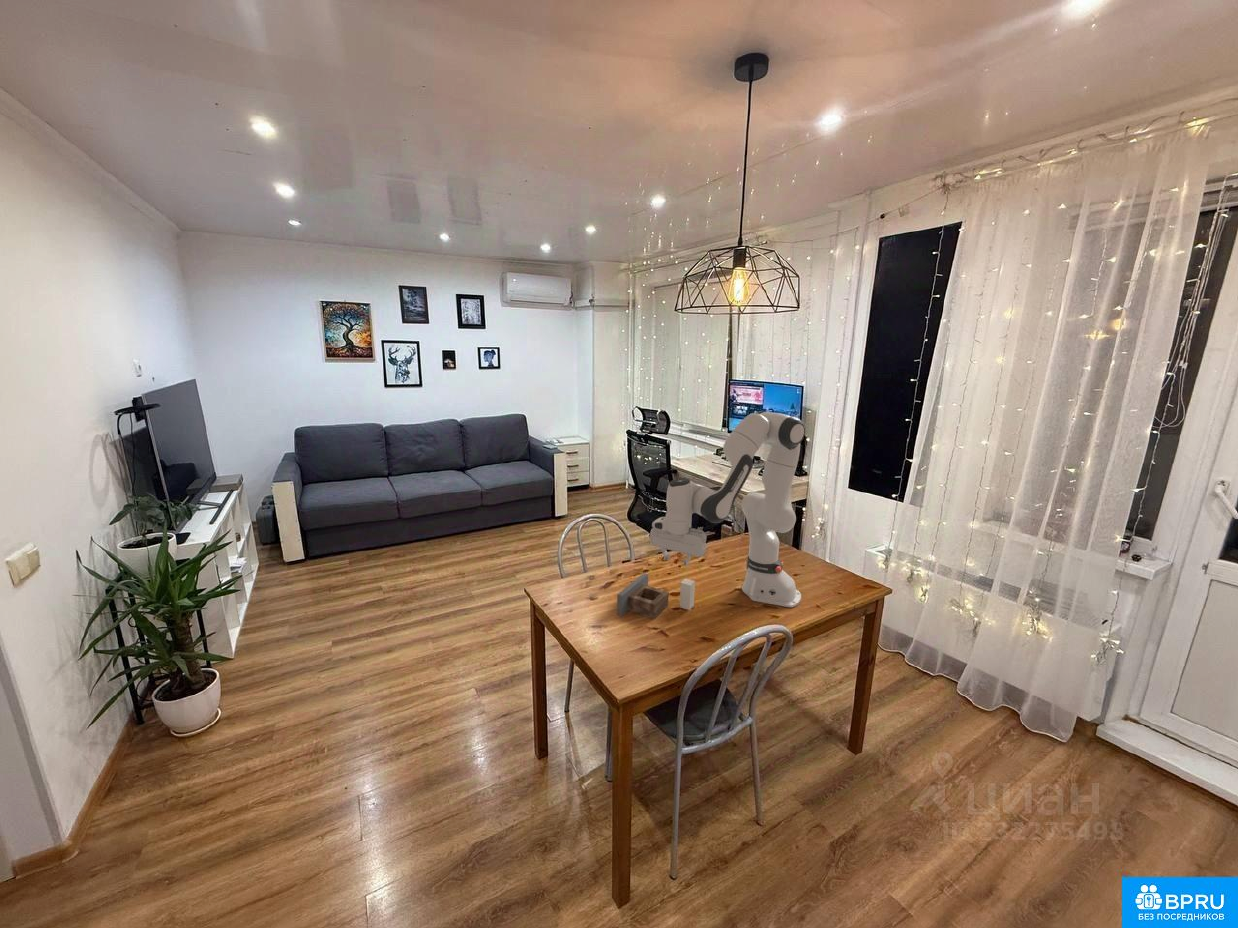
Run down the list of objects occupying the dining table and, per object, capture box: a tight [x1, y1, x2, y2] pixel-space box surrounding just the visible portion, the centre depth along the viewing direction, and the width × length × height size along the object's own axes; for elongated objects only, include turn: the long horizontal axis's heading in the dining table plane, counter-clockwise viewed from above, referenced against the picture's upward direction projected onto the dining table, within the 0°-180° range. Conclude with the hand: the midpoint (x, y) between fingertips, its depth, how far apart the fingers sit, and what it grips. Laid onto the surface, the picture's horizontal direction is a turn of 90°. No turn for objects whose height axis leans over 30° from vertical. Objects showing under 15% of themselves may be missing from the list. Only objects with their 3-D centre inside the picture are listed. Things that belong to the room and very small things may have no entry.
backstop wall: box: [616, 572, 649, 617], centre depth 185 cm, size 2×20×8 cm, turn 149°
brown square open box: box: [627, 585, 670, 620], centre depth 182 cm, size 11×11×6 cm
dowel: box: [679, 578, 696, 611], centre depth 184 cm, size 4×4×10 cm
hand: (676, 562), depth 173 cm, fingers open, 6 cm apart
